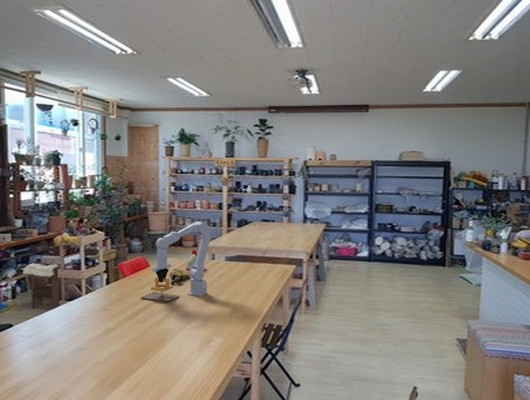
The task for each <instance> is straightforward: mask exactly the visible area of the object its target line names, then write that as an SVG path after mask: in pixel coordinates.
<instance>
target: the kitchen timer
mask: <svg viewBox="0 0 530 400" xmlns="http://www.w3.org/2000/svg"><path fill="white" fill-rule="evenodd" d="M197 253H198V251H197V250H195V249H193V250H192V251H191V254H192V255H191V256H189V258H188V259H187V260H186V263H185V271H188V272H190V269H191V268H192V266H193V264H194V263H195V261H196V257H197ZM204 264H205V263H204ZM204 264H203V266H204V267H205V265H204Z"/></svg>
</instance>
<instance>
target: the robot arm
mask: <svg viewBox="0 0 530 400" xmlns="http://www.w3.org/2000/svg"><path fill="white" fill-rule="evenodd" d="M193 232H194V233H198V234H199V236H200V238H201V239H200V243H199V246H198V250H197V257H196V261H195V263H194V264H193V266H192V268H191V269H190V271H188V272H189V277H190V292H188V293H187V295H191V296H196V297H202V296H204V295H206V294H208V291H207V290H208V284H207V283H208V282H207V281H206V280H205V279H204V278H205V265H204V266H203V264H205V260H206V256H207V253H208V249H209V246H210V241H211V238H212V236H211V232H210V226H209V224H208V223H206V222H202V221H198V220H197V221H196V222H193V223H191V224H189V225H187V226H185V227H184V228H183V229H181V230H179V231H170V233H169V234H166V235H163V237H159V238H158V239H157V240H156V242H155V245H156V248H157V249H156V265H155V267H153V268H152V272H153V273H155V274H156V277H157V278H158V280H159V283H164V282H163V278H164V279H167V278H166V277H167V275H168V273H169V270H170V269H169V268H171V267H172V266H171V263H168V247H169V246H170V245H172V244H173V243H174V244H175V243H176V242H178V241H180V238H181V237H184V236H186V235H187V234H190V233H193Z"/></svg>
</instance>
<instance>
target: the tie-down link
mask: <svg viewBox="0 0 530 400" xmlns="http://www.w3.org/2000/svg"><path fill="white" fill-rule="evenodd" d="M172 289H174V285H173V284H170V279H169V278H166V279H164V278H163V282H159V280H158V276H156V277H155V278H154V285H153V286H151V287H150V290H151V291H152V290H153V291H155V292H156V291H158V292H163V293H164V292H167V291H169V290H172Z"/></svg>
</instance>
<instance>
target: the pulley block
mask: <svg viewBox="0 0 530 400" xmlns="http://www.w3.org/2000/svg"><path fill="white" fill-rule="evenodd" d="M189 272H190V271H187V270H182V269H178V268H177V269H175V268H174V269H173V270H171V271H170V273H169V276H170V278H171V280H170V285H173V284H176V283H178V282H182V281H185V280H189V279H190V274H189Z"/></svg>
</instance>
